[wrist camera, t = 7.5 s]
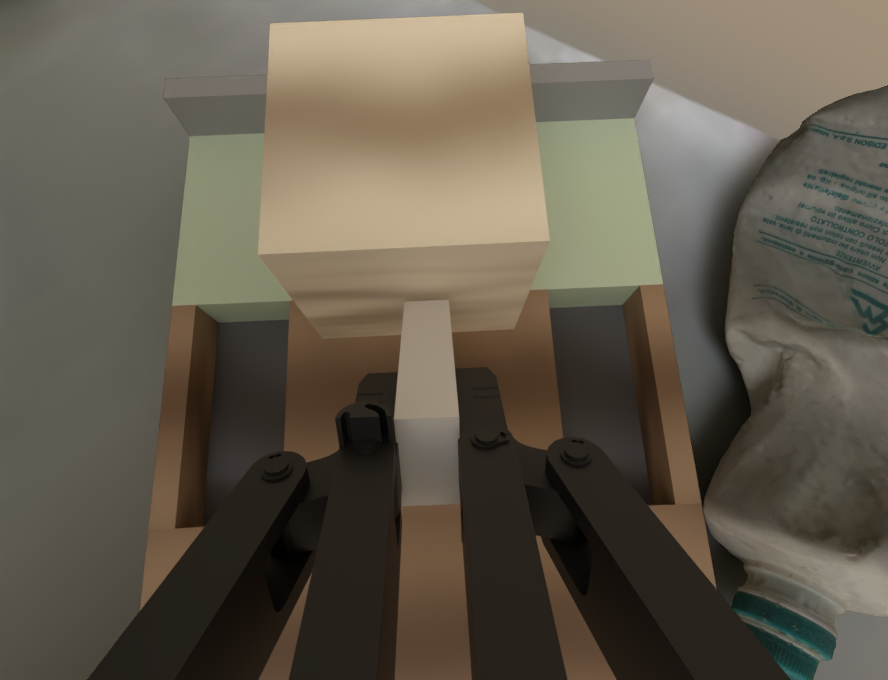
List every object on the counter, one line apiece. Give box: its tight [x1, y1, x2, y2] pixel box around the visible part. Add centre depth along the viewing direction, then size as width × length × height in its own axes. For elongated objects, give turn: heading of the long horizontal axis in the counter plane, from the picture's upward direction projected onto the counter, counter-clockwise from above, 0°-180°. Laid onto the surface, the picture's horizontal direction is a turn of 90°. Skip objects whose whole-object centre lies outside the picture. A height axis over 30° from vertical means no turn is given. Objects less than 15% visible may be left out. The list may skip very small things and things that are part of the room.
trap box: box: [140, 284, 717, 680], centre depth 22 cm, size 18×21×3 cm
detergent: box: [703, 85, 888, 680], centre depth 22 cm, size 13×7×25 cm
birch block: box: [258, 13, 550, 339], centre depth 20 cm, size 8×8×8 cm
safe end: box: [163, 60, 663, 323], centre depth 24 cm, size 10×21×6 cm, turn 93°
